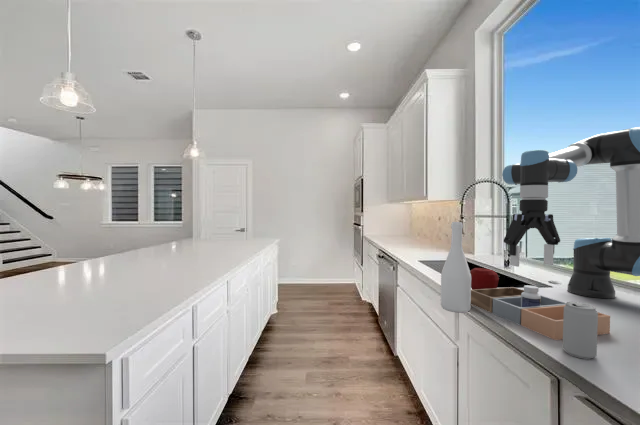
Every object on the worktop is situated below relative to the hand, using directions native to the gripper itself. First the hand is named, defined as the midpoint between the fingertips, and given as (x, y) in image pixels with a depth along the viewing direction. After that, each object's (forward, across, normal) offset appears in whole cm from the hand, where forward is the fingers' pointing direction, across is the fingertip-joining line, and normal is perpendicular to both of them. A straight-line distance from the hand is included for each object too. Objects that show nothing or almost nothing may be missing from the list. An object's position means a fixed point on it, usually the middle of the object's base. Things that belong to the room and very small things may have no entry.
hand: (531, 265), depth 103 cm
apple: (+17, -3, -24) cm, 30 cm away
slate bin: (+17, 0, 0) cm, 17 cm away
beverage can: (+17, +12, +24) cm, 32 cm away
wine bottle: (+17, +19, -12) cm, 28 cm away
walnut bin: (+17, 0, -11) cm, 20 cm away
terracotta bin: (+17, 0, +11) cm, 20 cm away
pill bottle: (+17, 0, 0) cm, 17 cm away
